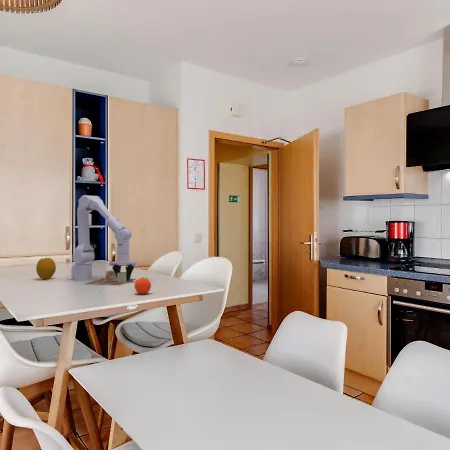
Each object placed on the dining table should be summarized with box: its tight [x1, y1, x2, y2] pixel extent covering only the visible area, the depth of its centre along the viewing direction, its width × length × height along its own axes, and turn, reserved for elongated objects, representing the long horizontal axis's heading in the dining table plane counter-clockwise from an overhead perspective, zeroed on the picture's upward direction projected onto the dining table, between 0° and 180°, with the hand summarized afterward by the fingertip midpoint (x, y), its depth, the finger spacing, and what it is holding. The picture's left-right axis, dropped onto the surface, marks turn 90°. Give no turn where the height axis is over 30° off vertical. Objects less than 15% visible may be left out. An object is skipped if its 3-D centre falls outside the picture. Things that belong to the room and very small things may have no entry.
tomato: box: [134, 277, 154, 295], centre depth 175 cm, size 8×7×7 cm
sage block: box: [117, 271, 130, 284], centre depth 201 cm, size 4×4×4 cm
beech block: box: [105, 269, 117, 280], centre depth 207 cm, size 4×4×4 cm
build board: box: [84, 277, 137, 286], centre depth 202 cm, size 19×20×1 cm
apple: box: [35, 257, 57, 280], centre depth 216 cm, size 10×10×12 cm
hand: (123, 280), depth 201 cm, fingers closed on sage block, 4 cm apart
